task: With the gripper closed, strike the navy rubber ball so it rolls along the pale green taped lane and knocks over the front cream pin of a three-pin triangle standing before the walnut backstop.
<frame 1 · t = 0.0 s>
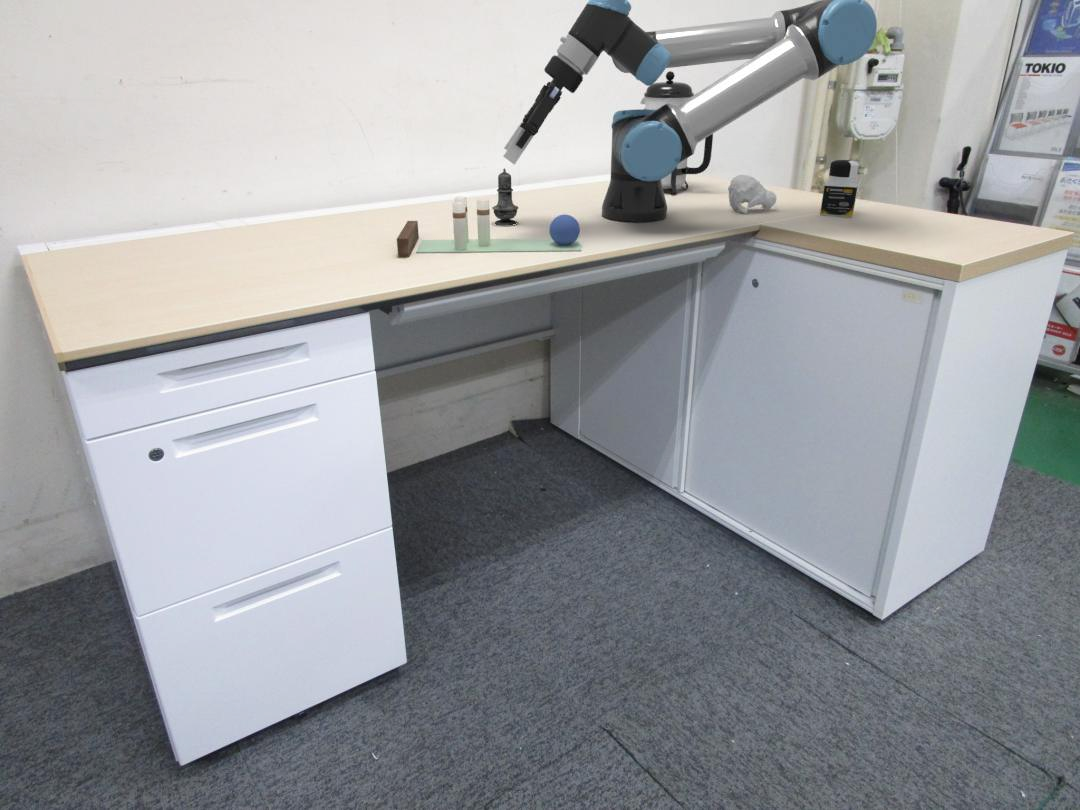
hand: (508, 156, 156), 15 cm above the table, tool tilted 35°, fingers open, 13 cm apart
backstop: (409, 246, 149), on the table
lane mark: (499, 245, 149), on the table
grey animal figurine: (751, 212, 179), on the table
pin front: (484, 246, 149), on the table
salt shaker: (505, 224, 168), on the table
pin rear left: (460, 249, 146), on the table
medicine bottle: (836, 214, 176), on the table
ball: (564, 230, 148), on the table
coffee press: (667, 191, 205), on the table
pin rear right: (462, 243, 151), on the table
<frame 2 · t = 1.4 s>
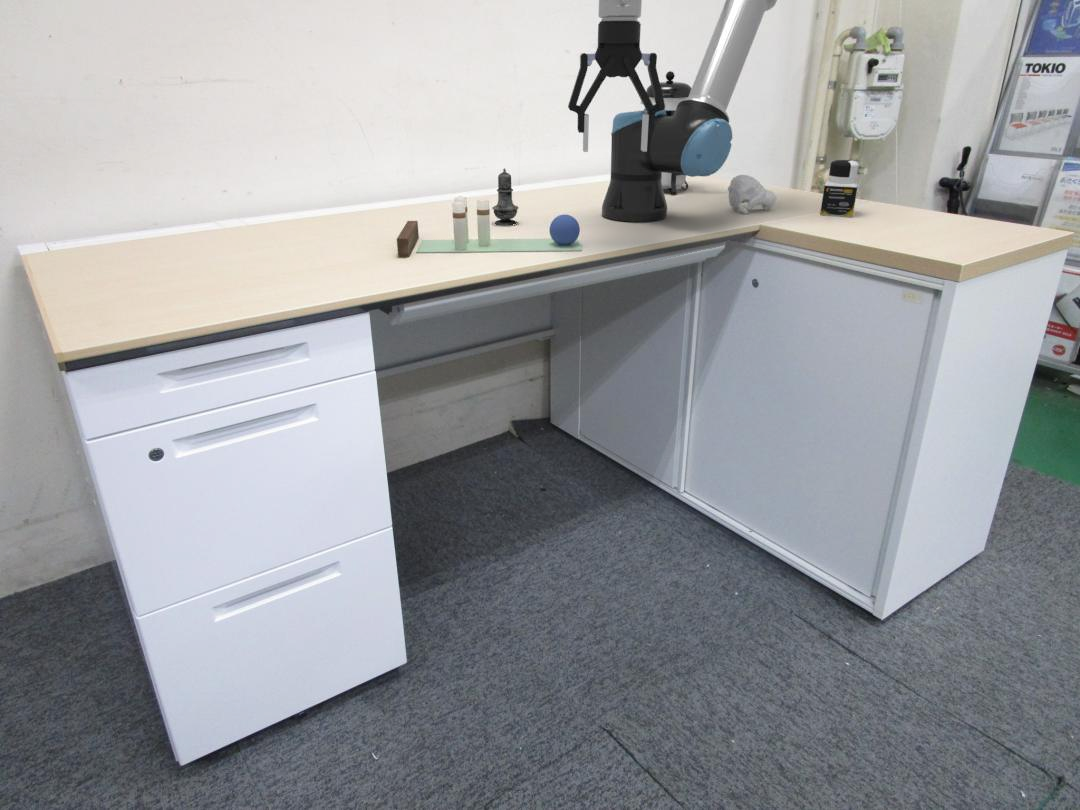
hand: (614, 150, 142), 18 cm above the table, tool pointing down, fingers open, 10 cm apart
nothing on the table moved.
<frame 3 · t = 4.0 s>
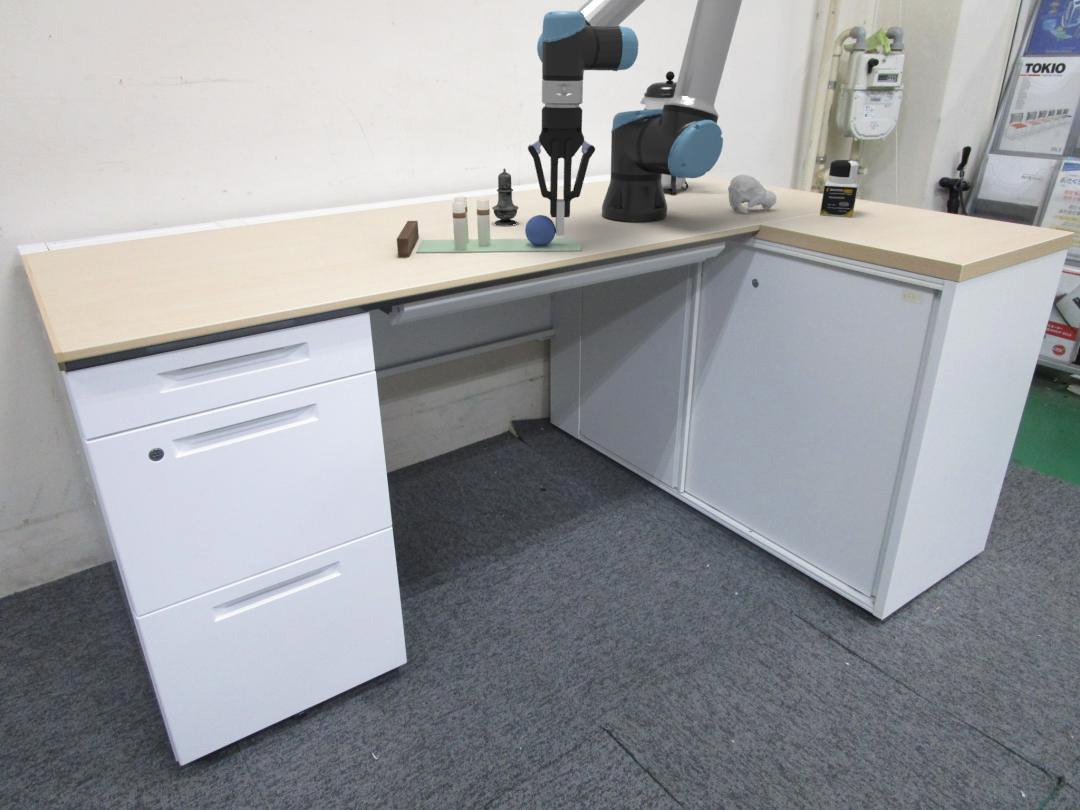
hand: (559, 233, 148), 2 cm above the table, tool pointing down, fingers closed
ball: (540, 230, 148), on the table
everything else where it was.
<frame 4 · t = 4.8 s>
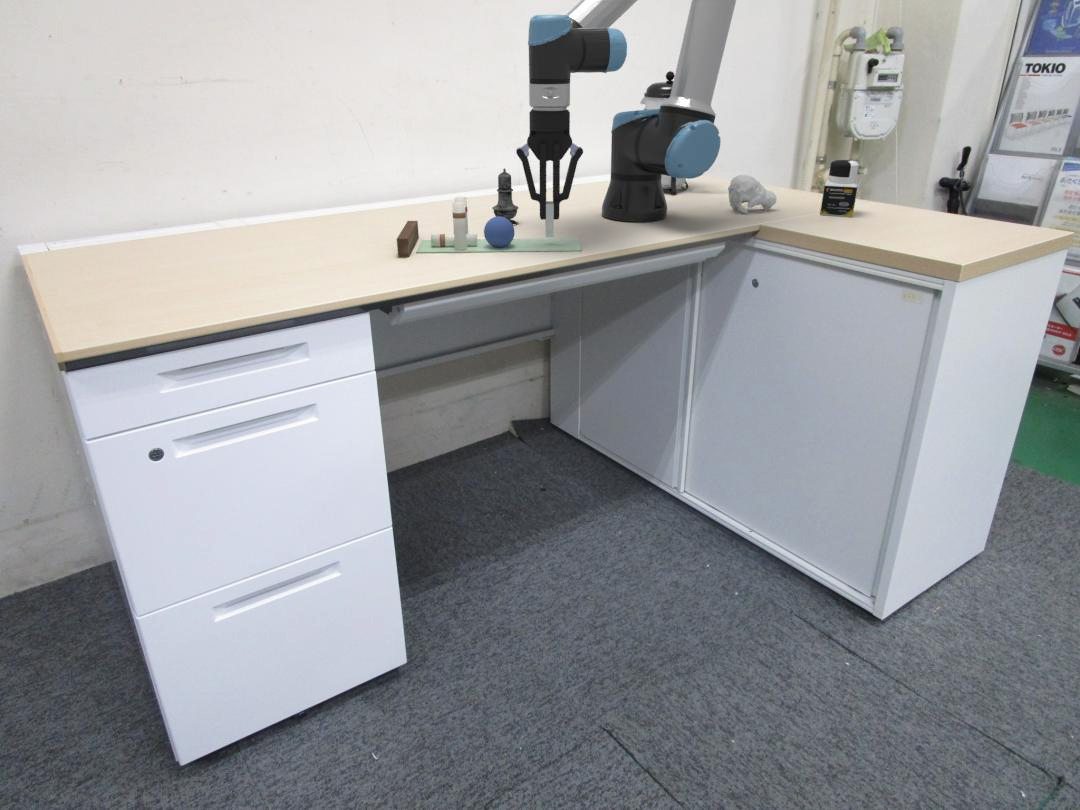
hand: (549, 235, 148), 2 cm above the table, tool pointing down, fingers closed
pin front: (477, 240, 148), point 1 cm above the table, tilted 90°
ball: (499, 232, 147), on the table
everything else where it was.
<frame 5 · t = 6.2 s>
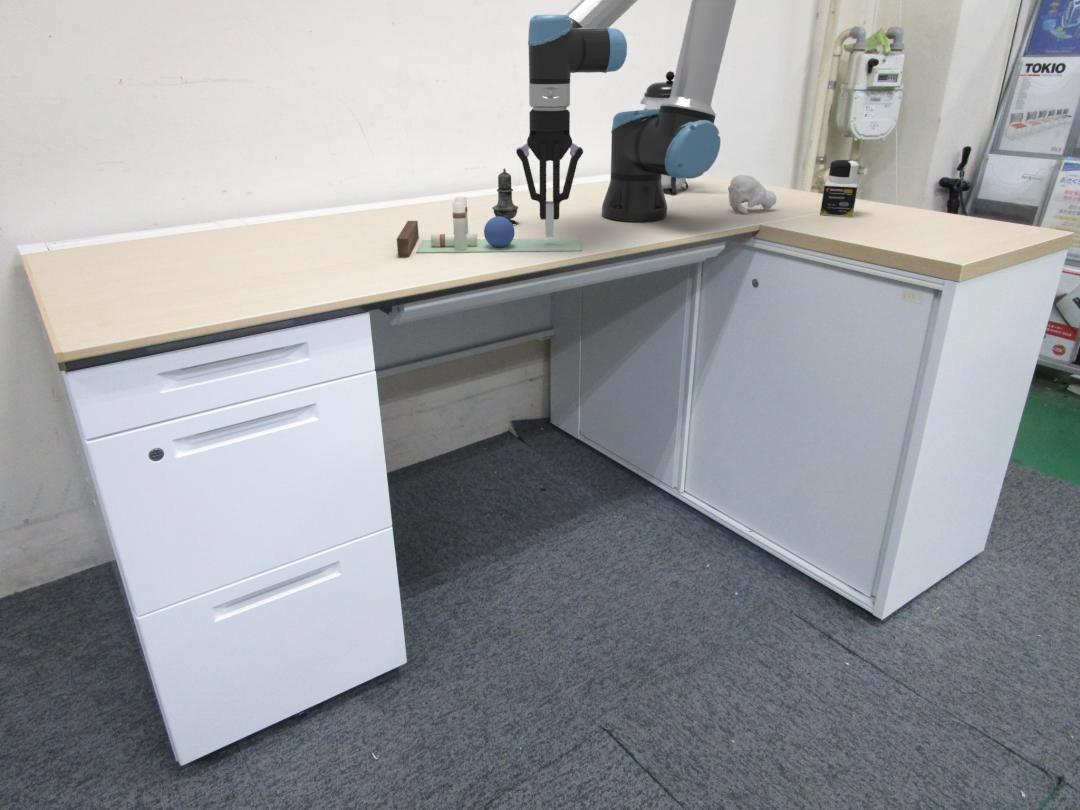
hand: (549, 235, 148), 2 cm above the table, tool pointing down, fingers closed
nothing on the table moved.
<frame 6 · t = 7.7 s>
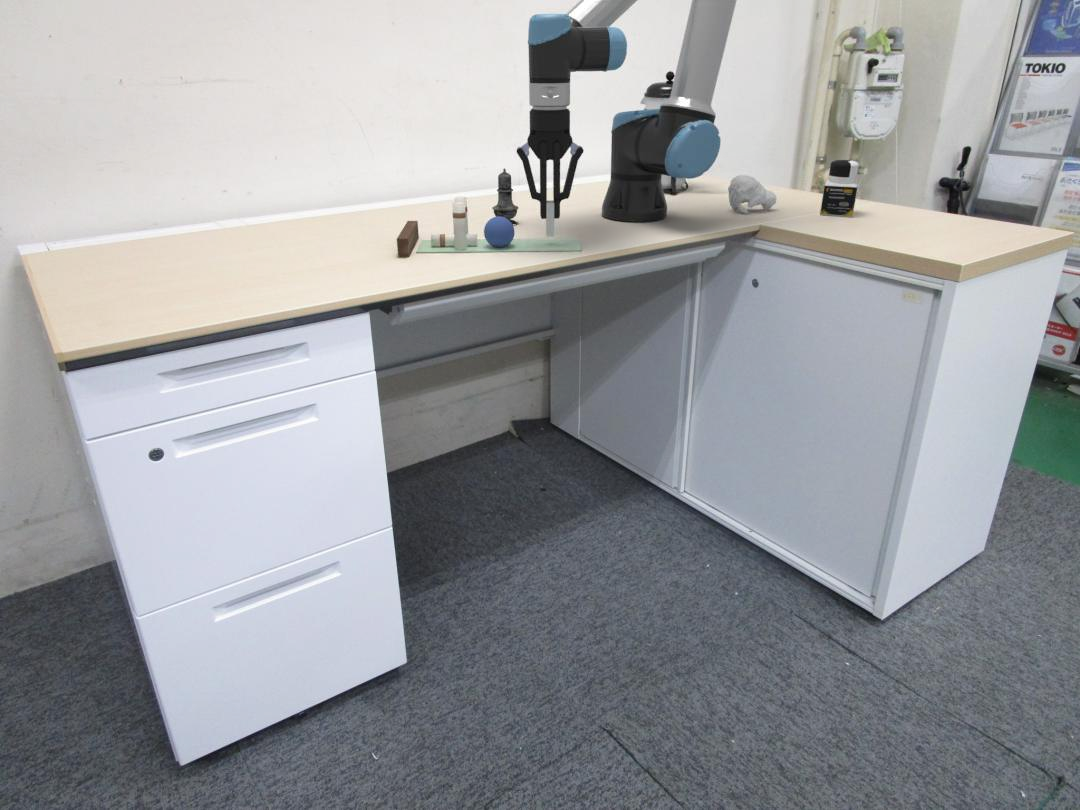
hand: (550, 234, 148), 2 cm above the table, tool pointing down, fingers closed
nothing on the table moved.
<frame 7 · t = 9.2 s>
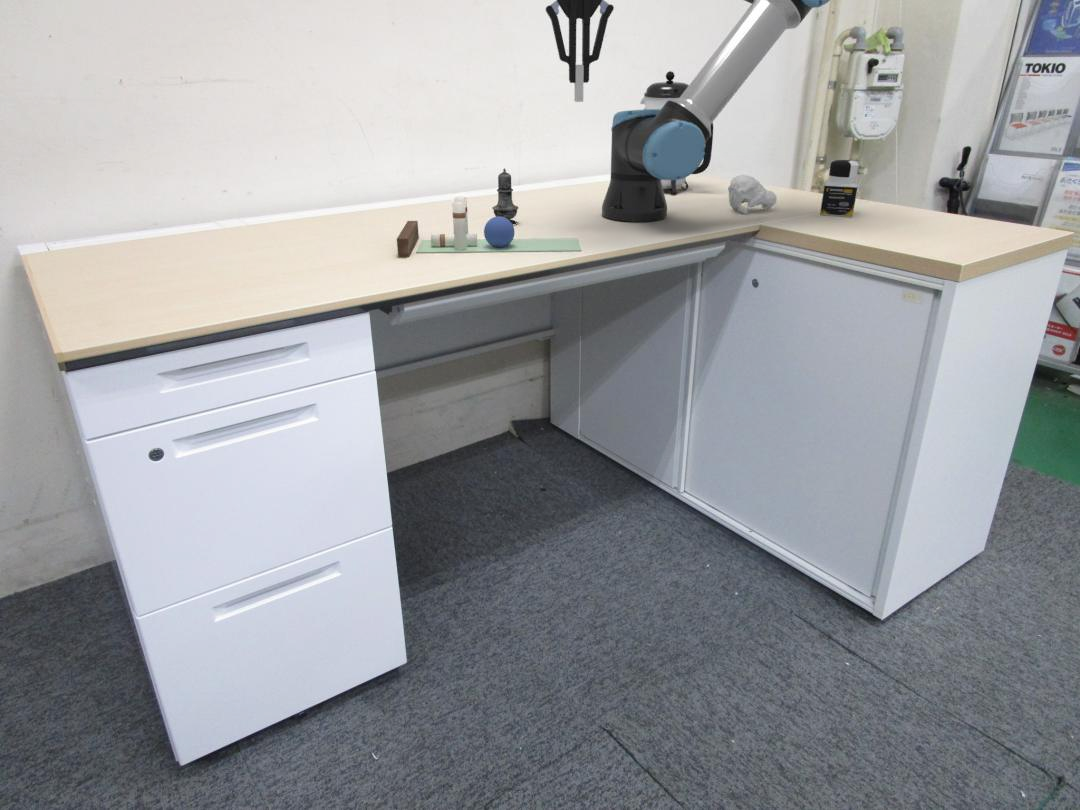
hand: (578, 101, 147), 26 cm above the table, tool pointing down, fingers closed
nothing on the table moved.
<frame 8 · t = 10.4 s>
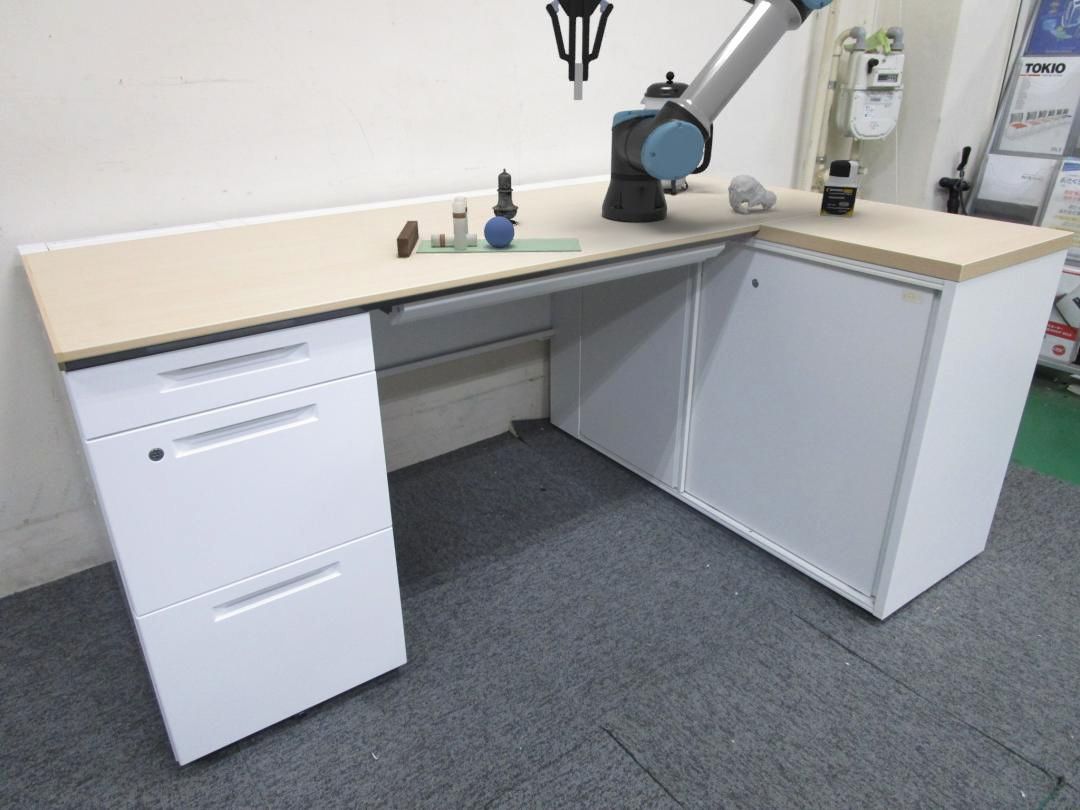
hand: (577, 99, 147), 26 cm above the table, tool pointing down, fingers closed
nothing on the table moved.
at the end: pin front tilted 90°; pin front never touched the robot; ball moved 13.0 cm from its start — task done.
